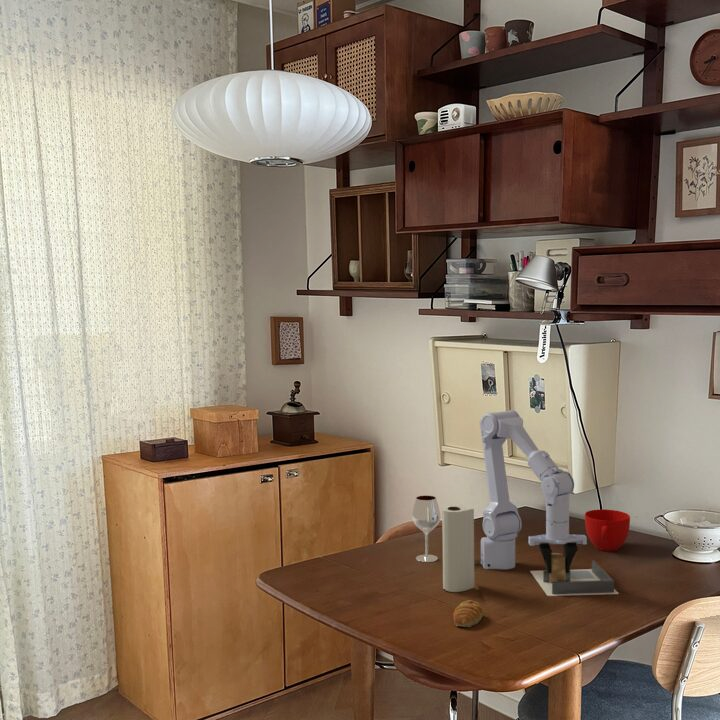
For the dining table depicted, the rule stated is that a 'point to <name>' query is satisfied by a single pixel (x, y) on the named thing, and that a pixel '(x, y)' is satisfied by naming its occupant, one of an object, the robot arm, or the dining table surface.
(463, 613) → the pastry
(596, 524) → the ceramic cup
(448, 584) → the paper towel roll
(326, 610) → the dining table surface
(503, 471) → the robot arm
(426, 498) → the wineglass
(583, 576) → the track board
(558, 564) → the oak dowel
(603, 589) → the metal rails
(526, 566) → the dining table surface
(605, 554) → the dining table surface
